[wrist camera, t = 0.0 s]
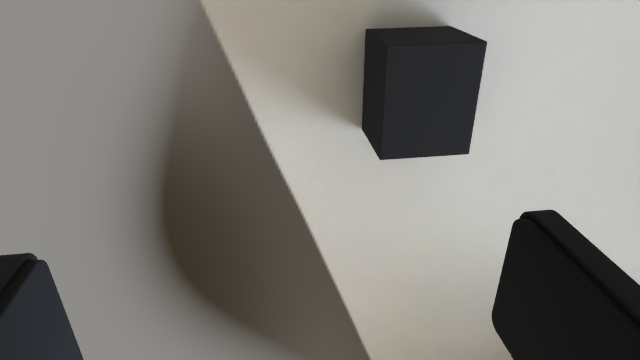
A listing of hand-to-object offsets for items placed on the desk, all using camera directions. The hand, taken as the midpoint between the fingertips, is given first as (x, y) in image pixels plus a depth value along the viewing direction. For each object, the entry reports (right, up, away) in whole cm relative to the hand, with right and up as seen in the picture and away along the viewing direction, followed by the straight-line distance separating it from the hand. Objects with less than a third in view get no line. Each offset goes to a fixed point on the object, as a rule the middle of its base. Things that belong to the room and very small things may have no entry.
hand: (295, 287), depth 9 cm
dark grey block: (+6, +8, +17) cm, 20 cm away
